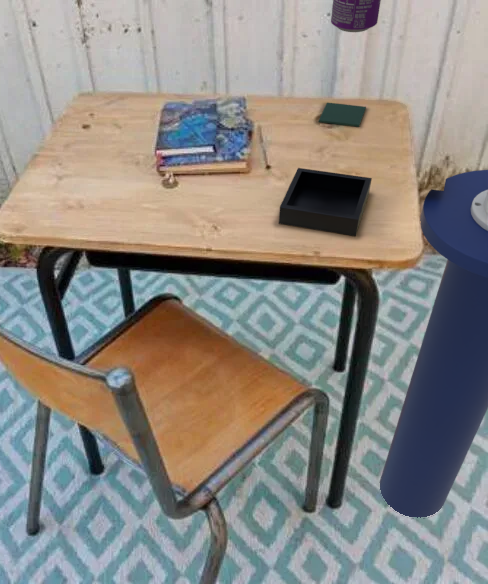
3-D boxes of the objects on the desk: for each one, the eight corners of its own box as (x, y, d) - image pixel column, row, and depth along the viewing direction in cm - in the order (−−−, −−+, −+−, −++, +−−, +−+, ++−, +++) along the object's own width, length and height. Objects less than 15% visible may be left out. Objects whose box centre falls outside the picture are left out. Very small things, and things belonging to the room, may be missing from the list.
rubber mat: (365, 108, 115) (366, 106, 115) (358, 127, 111) (359, 124, 111) (326, 104, 117) (326, 102, 117) (318, 122, 113) (318, 120, 113)
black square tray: (368, 194, 97) (371, 177, 95) (355, 236, 90) (358, 219, 88) (296, 184, 100) (298, 167, 98) (278, 223, 93) (279, 207, 91)
